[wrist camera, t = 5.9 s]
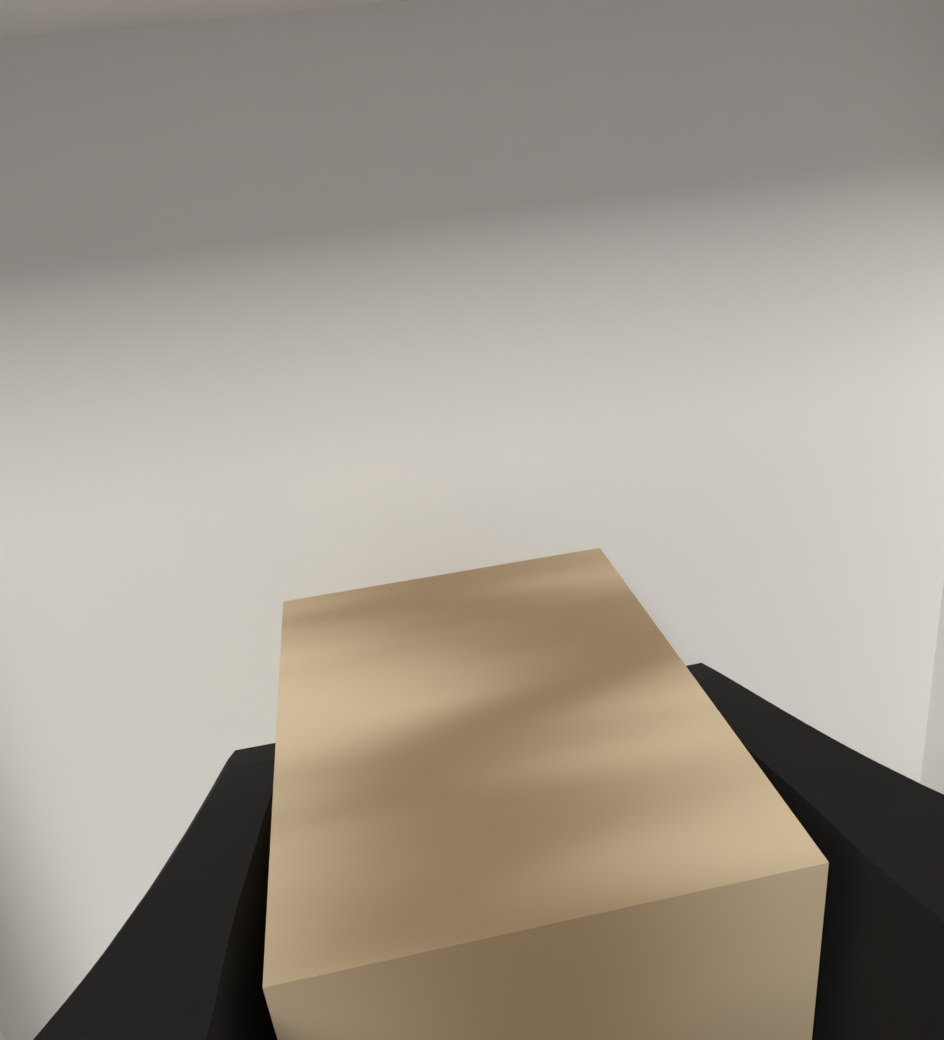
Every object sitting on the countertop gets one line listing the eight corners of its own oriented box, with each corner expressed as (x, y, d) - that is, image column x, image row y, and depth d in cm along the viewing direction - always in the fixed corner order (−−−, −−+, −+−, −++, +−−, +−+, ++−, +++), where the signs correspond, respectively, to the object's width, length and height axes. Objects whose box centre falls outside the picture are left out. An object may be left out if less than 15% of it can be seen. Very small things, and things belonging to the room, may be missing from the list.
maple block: (599, 547, 12) (829, 863, 7) (610, 792, 14) (798, 1191, 9) (283, 601, 12) (262, 989, 6) (336, 848, 14) (355, 1309, 8)
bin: (1060, -137, 12) (1447, -300, 8) (924, 923, 20) (1085, 1120, 16) (-533, -4, 10) (-1151, -134, 6) (13, 1133, 17) (-81, 1427, 13)
